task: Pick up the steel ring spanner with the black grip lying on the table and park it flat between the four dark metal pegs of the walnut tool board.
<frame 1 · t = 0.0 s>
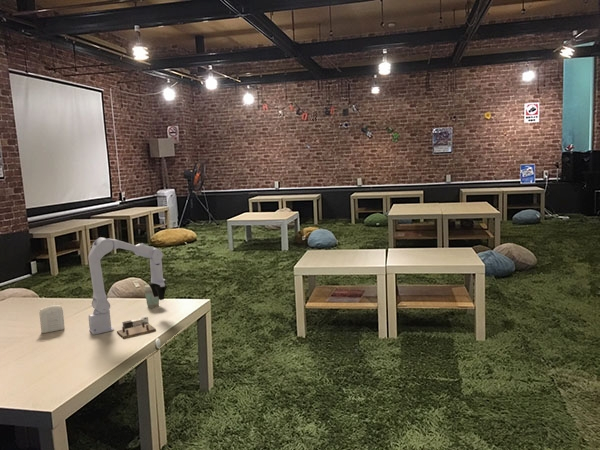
hand: (158, 298, 256), 10 cm above the table, tool pointing down, fingers open, 7 cm apart
coffee cup: (153, 306, 278), on the table
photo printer: (53, 331, 245), on the table
tool board: (136, 331, 237), on the table
spanner: (133, 326, 246), on the table
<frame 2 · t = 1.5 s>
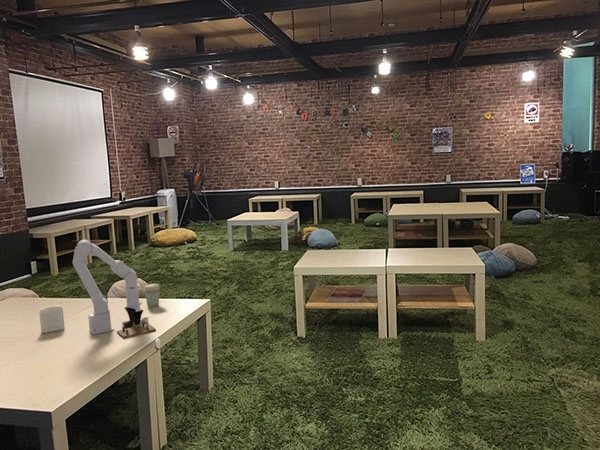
hand: (134, 322, 247), 1 cm above the table, tool pointing down, fingers open, 7 cm apart
nothing on the table moved.
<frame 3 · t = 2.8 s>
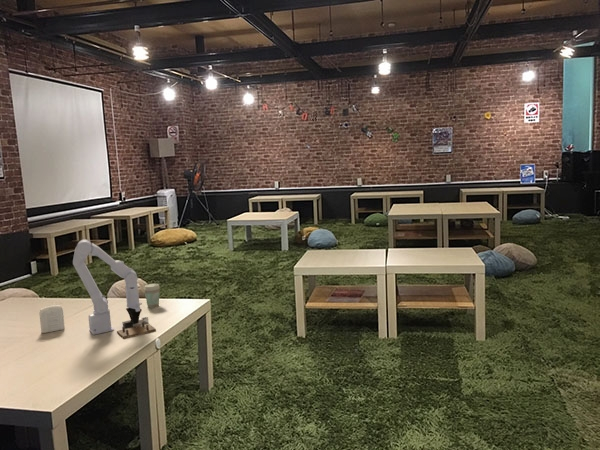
hand: (134, 322, 247), 1 cm above the table, tool pointing down, fingers closed on spanner, 3 cm apart
spanner: (133, 325, 246), on the table, touching gripper
everything else where it was.
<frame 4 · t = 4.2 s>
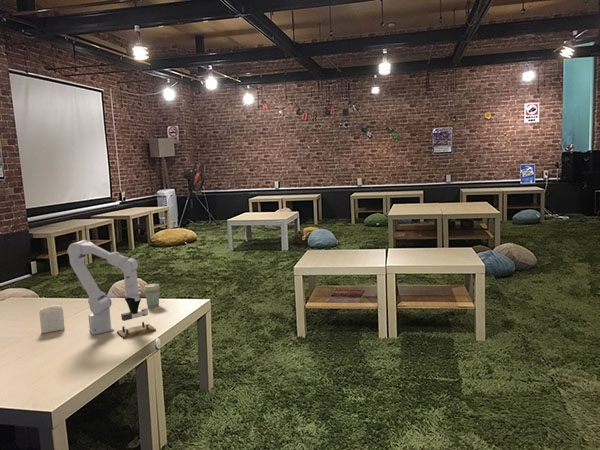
hand: (134, 312, 238), 8 cm above the table, tool pointing down, fingers closed on spanner, 3 cm apart
spanner: (132, 317, 238), point 6 cm above the table, touching gripper
everything else where it was.
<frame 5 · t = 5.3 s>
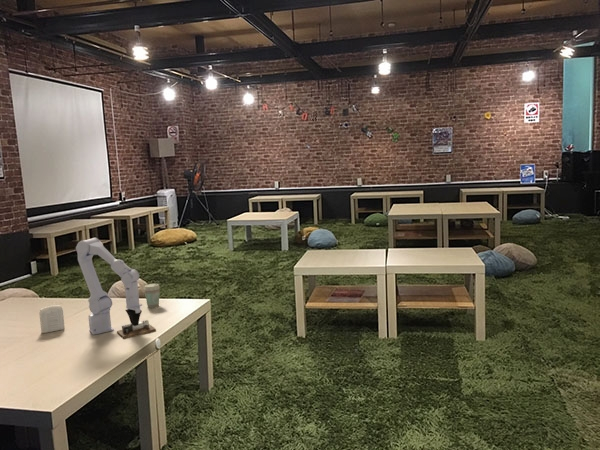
hand: (134, 324, 236), 4 cm above the table, tool pointing down, fingers closed on spanner, 3 cm apart
spanner: (133, 329, 236), point 1 cm above the table, touching gripper
everything else where it was.
when the fingers open (3 cm above the table, at t = 6.0 s): spanner stays where it is, resting on tool board.
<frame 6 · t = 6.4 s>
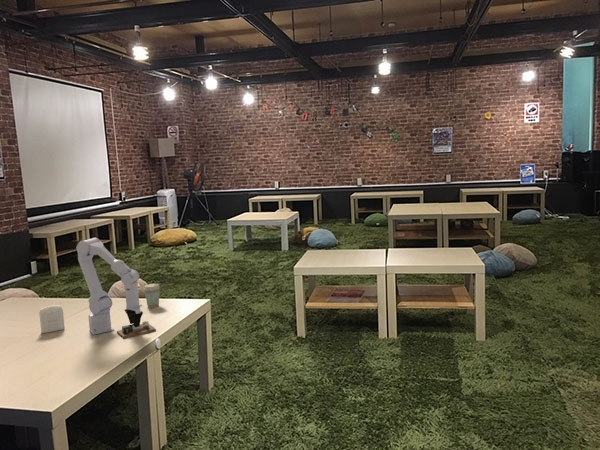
hand: (134, 325, 236), 3 cm above the table, tool pointing down, fingers open, 6 cm apart
spanner: (133, 330, 236), point 1 cm above the table, touching tool board
everything else where it was.
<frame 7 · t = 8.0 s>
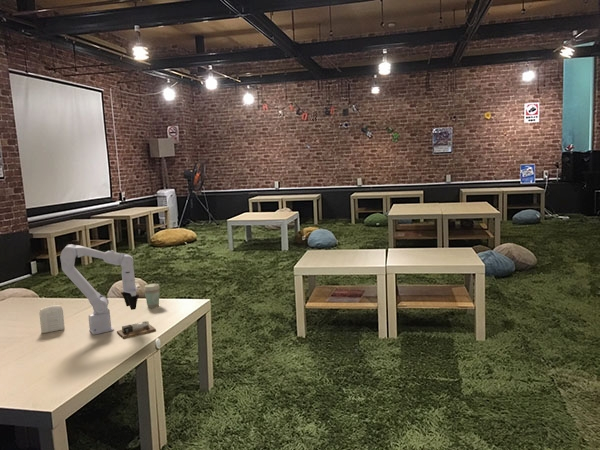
hand: (131, 307, 244), 9 cm above the table, tool pointing down, fingers open, 7 cm apart
nothing on the table moved.
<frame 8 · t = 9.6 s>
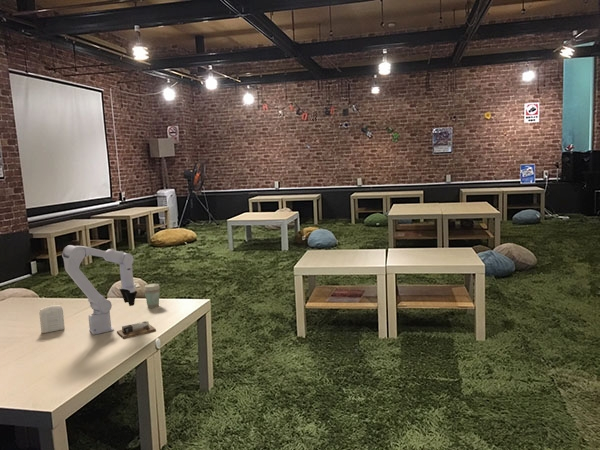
hand: (129, 303, 251), 9 cm above the table, tool pointing down, fingers open, 7 cm apart
nothing on the table moved.
at the end: spanner 0.0 cm from the target spot on the tool board, point 1.0 cm above the tool board's base; spanner tilted 0°; the gripper is holding nothing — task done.
